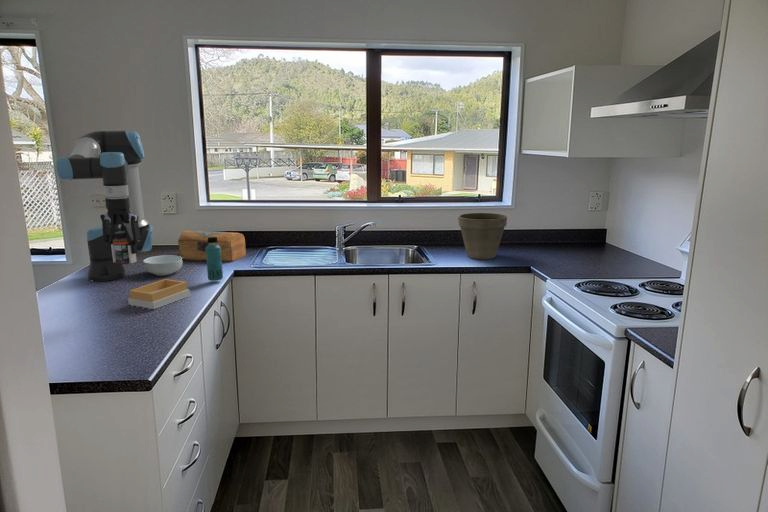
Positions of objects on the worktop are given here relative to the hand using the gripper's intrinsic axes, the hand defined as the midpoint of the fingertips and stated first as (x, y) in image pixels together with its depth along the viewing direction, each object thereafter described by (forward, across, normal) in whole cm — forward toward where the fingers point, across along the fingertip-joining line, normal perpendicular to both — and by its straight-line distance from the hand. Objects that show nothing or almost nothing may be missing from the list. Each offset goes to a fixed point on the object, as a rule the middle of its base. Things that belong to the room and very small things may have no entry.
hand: (124, 261), depth 185 cm
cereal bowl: (+19, -19, +49) cm, 56 cm away
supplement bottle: (+1, 0, 0) cm, 1 cm away
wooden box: (+19, -13, +82) cm, 85 cm away
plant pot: (+19, +124, +111) cm, 168 cm away
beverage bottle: (+19, +12, +40) cm, 46 cm away
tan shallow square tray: (+19, +1, +13) cm, 23 cm away
